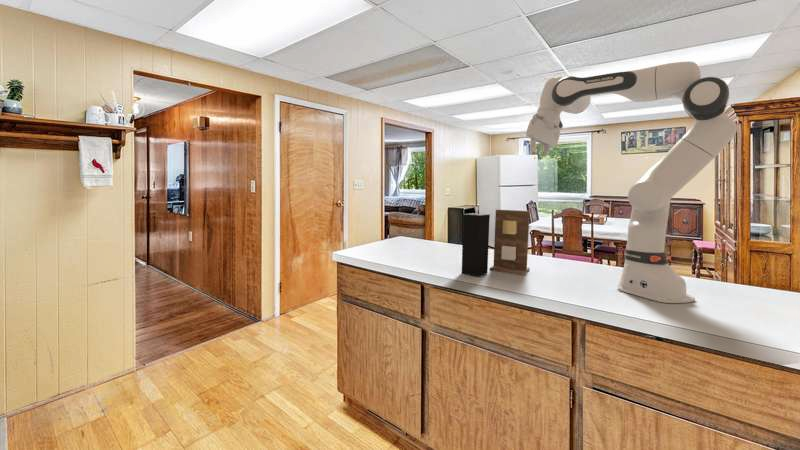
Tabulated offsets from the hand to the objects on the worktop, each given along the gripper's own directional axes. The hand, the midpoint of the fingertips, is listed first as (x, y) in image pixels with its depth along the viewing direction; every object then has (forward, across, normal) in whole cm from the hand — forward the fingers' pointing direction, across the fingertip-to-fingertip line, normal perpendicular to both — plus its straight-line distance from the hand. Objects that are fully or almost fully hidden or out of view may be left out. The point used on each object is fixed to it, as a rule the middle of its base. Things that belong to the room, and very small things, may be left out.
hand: (538, 153), depth 147 cm
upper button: (+34, +2, +4) cm, 34 cm away
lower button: (+45, +3, +2) cm, 45 cm away
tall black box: (+54, -12, +8) cm, 55 cm away
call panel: (+50, +4, +2) cm, 50 cm away
